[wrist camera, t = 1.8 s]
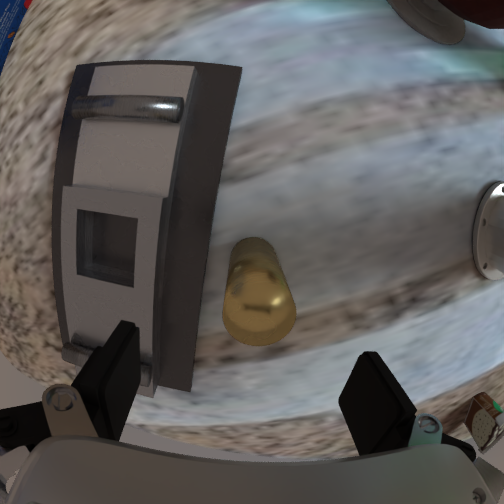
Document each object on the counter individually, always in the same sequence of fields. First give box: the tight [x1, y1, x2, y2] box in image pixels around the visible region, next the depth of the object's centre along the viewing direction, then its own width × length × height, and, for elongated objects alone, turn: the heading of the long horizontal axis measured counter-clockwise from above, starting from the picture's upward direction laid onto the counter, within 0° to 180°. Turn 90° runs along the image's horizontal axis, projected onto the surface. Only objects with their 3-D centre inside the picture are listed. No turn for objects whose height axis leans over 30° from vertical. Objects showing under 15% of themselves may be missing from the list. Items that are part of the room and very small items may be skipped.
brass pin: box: [223, 237, 296, 346], centre depth 20 cm, size 4×4×10 cm
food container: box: [464, 392, 504, 454], centre depth 30 cm, size 12×6×10 cm, turn 18°
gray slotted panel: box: [52, 60, 242, 398], centre depth 21 cm, size 16×32×6 cm, turn 169°
